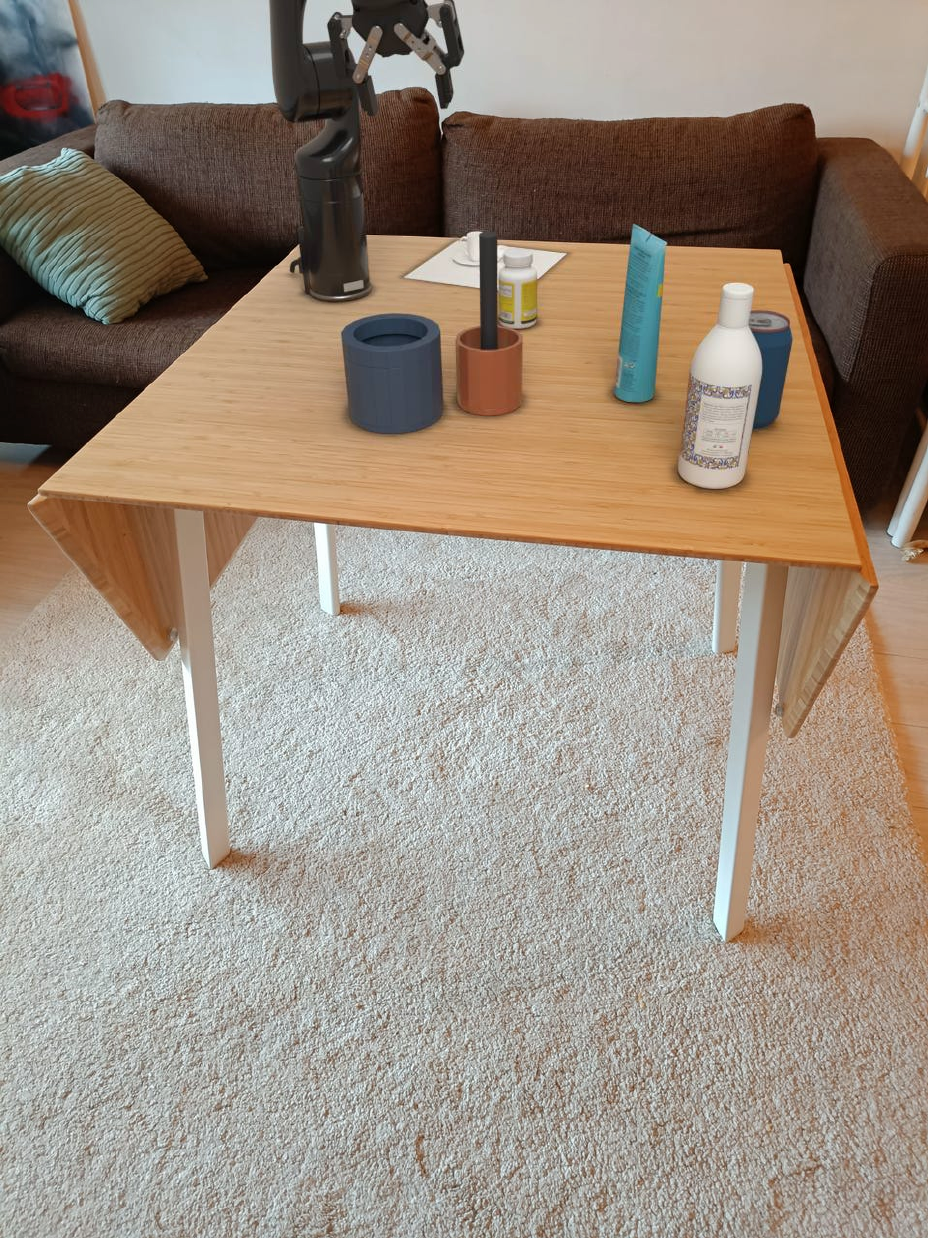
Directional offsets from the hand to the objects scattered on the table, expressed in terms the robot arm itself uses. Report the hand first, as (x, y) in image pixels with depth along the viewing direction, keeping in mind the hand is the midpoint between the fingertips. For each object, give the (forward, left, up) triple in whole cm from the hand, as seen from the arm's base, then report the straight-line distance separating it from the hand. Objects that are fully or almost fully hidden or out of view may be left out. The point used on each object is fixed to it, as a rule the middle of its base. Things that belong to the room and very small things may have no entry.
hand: (409, 109), depth 112 cm
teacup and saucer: (-9, +36, -30) cm, 48 cm away
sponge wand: (+14, -8, -29) cm, 33 cm away
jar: (+5, -15, -30) cm, 34 cm away
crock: (+14, -8, -30) cm, 34 cm away
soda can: (+43, 0, -30) cm, 53 cm away
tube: (+29, +1, -30) cm, 42 cm away
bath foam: (+43, -14, -30) cm, 54 cm away
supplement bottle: (+6, +16, -30) cm, 35 cm away
